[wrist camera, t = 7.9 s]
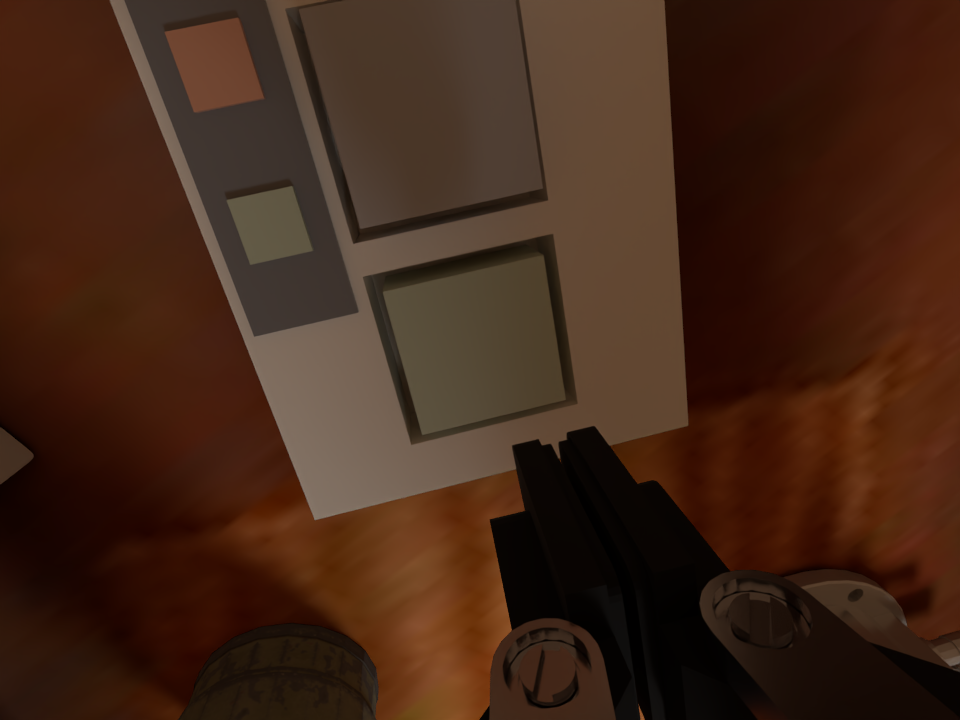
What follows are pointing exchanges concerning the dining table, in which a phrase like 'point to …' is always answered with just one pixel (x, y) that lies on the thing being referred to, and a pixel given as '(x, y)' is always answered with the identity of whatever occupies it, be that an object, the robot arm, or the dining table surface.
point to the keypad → (425, 236)
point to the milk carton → (12, 455)
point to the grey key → (425, 102)
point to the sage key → (476, 337)
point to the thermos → (286, 678)
